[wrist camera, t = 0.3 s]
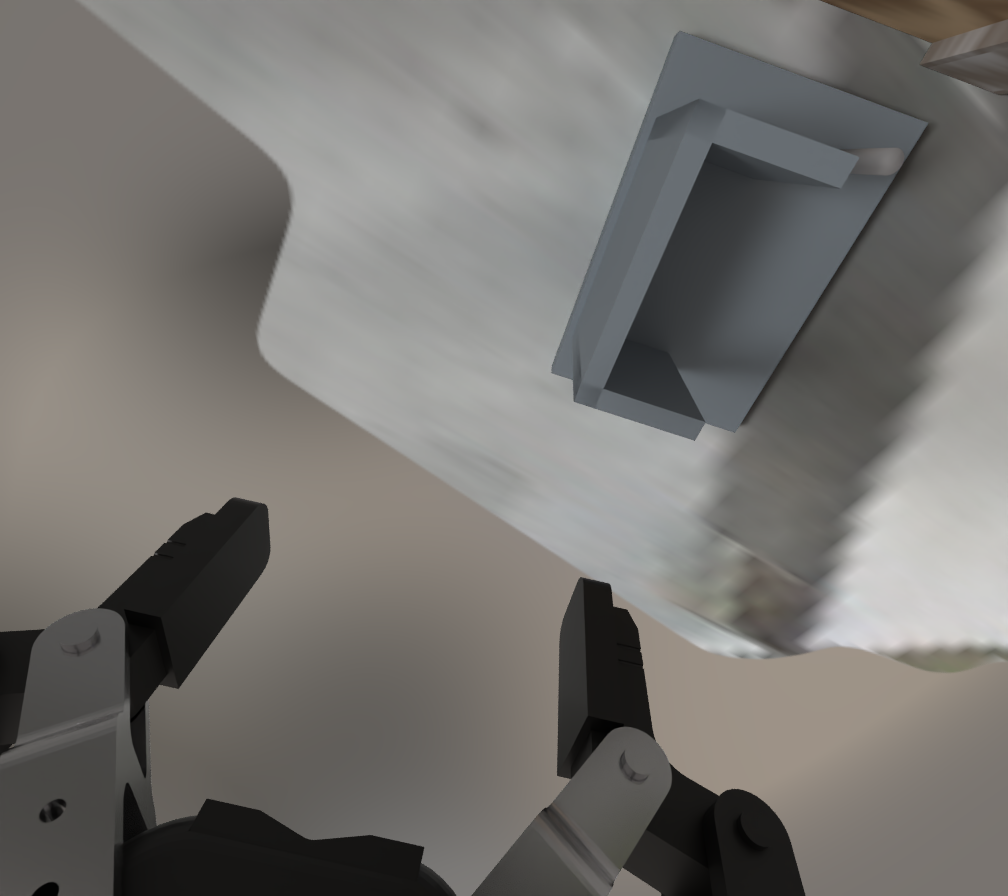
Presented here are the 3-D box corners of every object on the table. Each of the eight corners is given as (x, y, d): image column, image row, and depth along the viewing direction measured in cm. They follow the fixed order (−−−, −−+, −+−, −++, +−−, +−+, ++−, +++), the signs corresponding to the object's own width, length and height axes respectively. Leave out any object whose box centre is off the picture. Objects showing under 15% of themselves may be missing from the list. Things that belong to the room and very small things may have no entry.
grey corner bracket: (674, 36, 29) (740, -37, 18) (912, 124, 30) (1111, 105, 19) (551, 365, 39) (546, 444, 29) (729, 423, 40) (789, 521, 29)
